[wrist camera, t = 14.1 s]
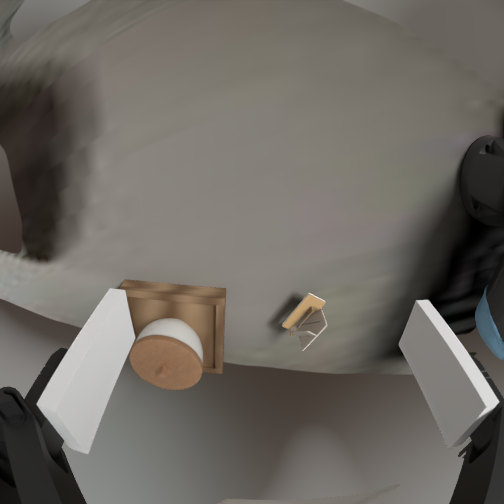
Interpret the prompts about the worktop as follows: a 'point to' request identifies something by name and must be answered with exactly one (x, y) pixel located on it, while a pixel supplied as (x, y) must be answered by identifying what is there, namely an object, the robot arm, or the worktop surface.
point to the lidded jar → (168, 354)
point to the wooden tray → (182, 313)
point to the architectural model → (307, 320)
